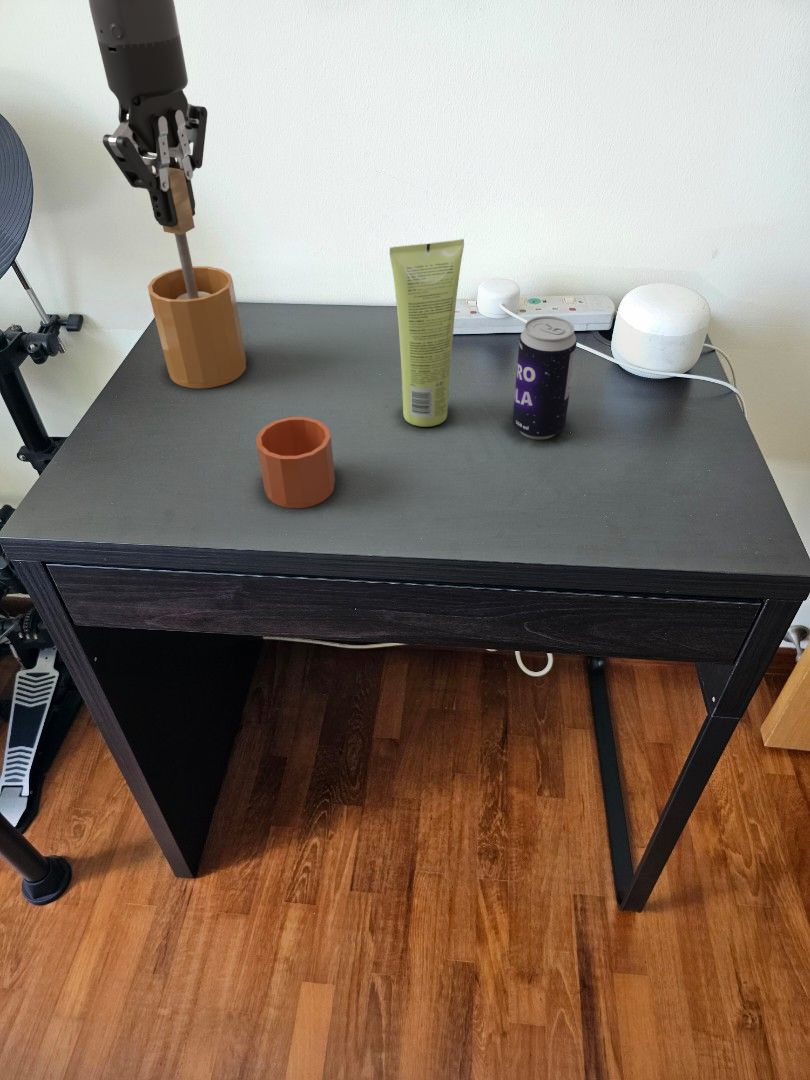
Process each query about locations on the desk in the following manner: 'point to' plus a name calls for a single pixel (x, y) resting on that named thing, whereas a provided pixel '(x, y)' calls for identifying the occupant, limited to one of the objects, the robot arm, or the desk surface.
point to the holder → (296, 462)
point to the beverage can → (544, 376)
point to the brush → (183, 230)
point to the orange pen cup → (199, 328)
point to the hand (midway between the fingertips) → (176, 219)
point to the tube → (426, 325)
